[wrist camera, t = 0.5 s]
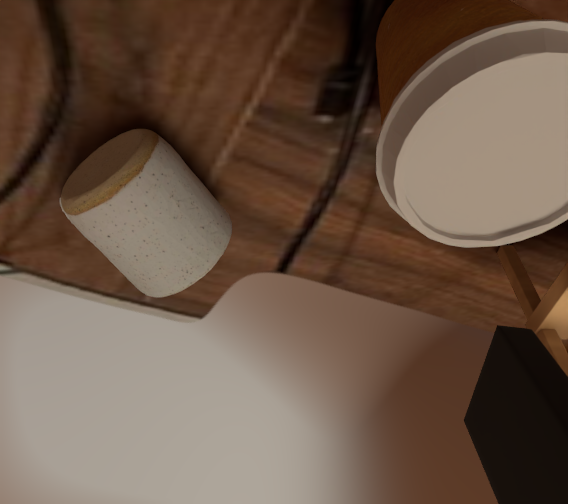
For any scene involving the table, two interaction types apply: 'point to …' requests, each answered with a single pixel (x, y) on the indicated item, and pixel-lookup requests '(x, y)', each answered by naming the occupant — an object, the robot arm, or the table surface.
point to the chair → (540, 304)
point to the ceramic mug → (147, 213)
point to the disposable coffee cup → (473, 119)
